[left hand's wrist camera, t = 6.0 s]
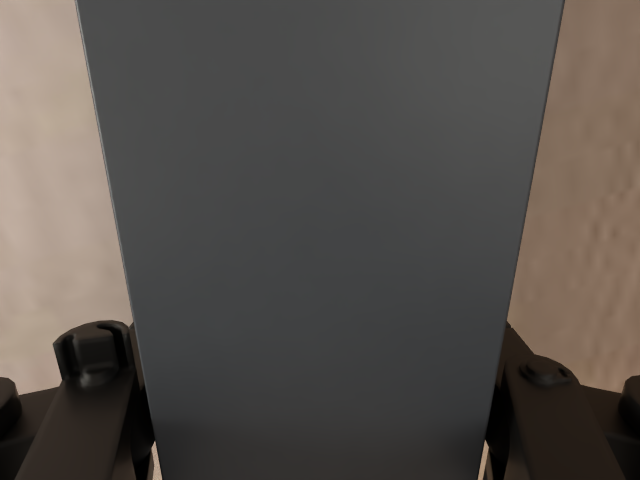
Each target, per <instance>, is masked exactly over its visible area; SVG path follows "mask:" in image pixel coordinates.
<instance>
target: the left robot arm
mask: <svg viewBox="0 0 640 480" xmlns="http://www.w3.org/2000/svg"><path fill="white" fill-rule="evenodd" d="M53 347H54V351H55V355H56V358H57V362H58V366H59V370H60V373H61V377H62V382H61V384H60V386H59V387H56V388H52V389H47V390H42V391H37V392H32V393H27V394H23V395H18V392H17V389H16V386H15V383H14V382H13V381H12V380H10V379H9V378H3V377H0V480H152V479H153V471H154V461H153V455H152V449H151V448H152V446H153V444H154V441H155V436H154V431H153V425H152V420H151V414H150V409H149V403H148V398H147V392H146V387H145V382H144V376H143V371H142V365H141V360H140V354H139V349H138V343H137V338H136V332H135V327H134V322H133V323H132V324H131V325H130V327H128V326H127V325H125V324H124V323H123V322H118V321H113V320H107V321H96V322H92V323H87V324H84V325H81V326H78V327H76V328H73V329H71V330H69V331H68V332H66V333H64V334H63V335H61V336H60V337H59V338H58V339H57V340H56V341H55V342H54V343H53ZM485 440H486V442H487V444H488V446H489V449H488V455H487V460H486V465H485V470H484V476H483V480H640V375H638V376H631V377H630V378H629V379H627V380H626V381H625V384H624V388H623V391H622V394H621V393H617V392H612V391H607V390H602V389H597V388H592V387H587V386H584V385H580V383H579V381H578V379H577V378H576V377H575V375H574V374H573V373H572V372H571V371H570V370H569V369H567V368H566V367H565V366H563V365H562V364H560V363H558V362H556V361H554V360H552V359H549V358H547V357H543V356H539V355H535V354H534V353H533V352H532V351H531V350H530V348H529V347H528V346H527V345H526V344H525V342H524V341H523V340H522V339H521V338H520V336H519V335H518V334H517V333H516V331H515V330H514V329H513V328H511V325H510V324H509V323H508V322H507V321H506V327H505V332H504V338H503V343H502V349H501V354H500V359H499V365H498V370H497V376H496V381H495V387H494V392H493V398H492V403H491V409H490V414H489V420H488V425H487V431H486V436H485Z"/></svg>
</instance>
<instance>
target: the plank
mask: <svg viewBox="0 0 640 480" xmlns="http://www.w3.org/2000/svg"><path fill="white" fill-rule="evenodd" d="M564 3H565V0H75V5H76V10H77V16H78V21H79V26H80V32H81V37H82V43H83V48H84V54H85V59H86V65H87V70H88V76H89V81H90V87H91V92H92V97H93V103H94V108H95V114H96V119H97V125H98V130H99V136H100V141H101V147H102V152H103V158H104V163H105V168H106V174H107V179H108V185H109V190H110V196H111V201H112V207H113V212H114V218H115V223H116V229H117V234H118V239H119V245H120V250H121V256H122V261H123V267H124V272H125V278H126V283H127V289H128V294H129V300H130V305H131V311H132V316H133V321H134V327H135V332H136V338H137V343H138V349H139V354H140V360H141V365H142V371H143V376H144V382H145V387H146V392H147V398H148V403H149V409H150V414H151V420H152V425H153V431H154V436H155V442H156V447H157V453H158V458H159V464H160V469H161V474H162V480H478V475H479V469H480V464H481V458H482V453H483V447H484V442H485V436H486V431H487V425H488V420H489V414H490V409H491V403H492V398H493V392H494V387H495V381H496V376H497V370H498V365H499V359H500V354H501V349H502V343H503V338H504V332H505V327H506V321H507V316H508V310H509V305H510V299H511V294H512V288H513V283H514V277H515V272H516V266H517V261H518V255H519V250H520V244H521V239H522V233H523V228H524V222H525V217H526V211H527V206H528V201H529V195H530V190H531V184H532V179H533V173H534V168H535V162H536V157H537V151H538V146H539V140H540V135H541V129H542V124H543V118H544V113H545V107H546V102H547V96H548V91H549V85H550V80H551V74H552V69H553V63H554V58H555V53H556V47H557V42H558V36H559V31H560V25H561V20H562V14H563V9H564Z"/></svg>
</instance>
